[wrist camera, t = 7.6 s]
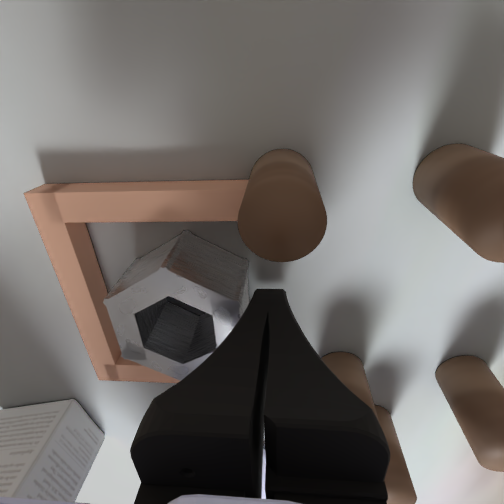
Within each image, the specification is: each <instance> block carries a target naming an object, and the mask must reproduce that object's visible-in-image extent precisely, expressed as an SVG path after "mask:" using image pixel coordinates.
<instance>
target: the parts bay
mask: <svg viewBox="0 0 504 504" xmlns="http://www.w3.org/2000/svg"><path fill="white" fill-rule="evenodd" d="M248 181H249V180H203V181H157V182H111V183H65V184H43V185H41V186H39V187H37V188H34V189H32V190H30V191H28V192H26V193H24V195H25V198H26V200H27V203H28V205H29V208H30V210H31V213H32V215H33V218H34V220H35V223H36V225H37V228H38V230H39V233H40V235H41V238H42V240H43V243H44V245H45V248H46V250H47V253H48V255H49V257H50V260H51V262H52V265H53V267H54V270H55V272H56V275H57V277H58V280H59V282H60V285H61V287H62V290H63V292H64V295H65V297H66V300H67V302H68V305H69V307H70V310H71V312H72V315H73V317H74V320H75V322H76V324H77V327H78V329H79V332H80V334H81V337H82V339H83V342H84V344H85V347H86V349H87V352H88V354H89V357H90V359H91V362H92V364H93V367H94V369H95V372H96V374H97V377H98V379H99V380H110V381H136V382H161V383H178V382H180V380H177V379H175V378H173V377H170V376H168V375H165V374H163V373H160V372H158V371H155V370H153V369H150V368H148V367H145V366H143V365H141V364H138V363H136V362H133V361H131V360H128V359H124V358H123V357H121V355H122V352H121V349H120V346H119V343H118V340H117V337H116V334H115V331H114V328H113V325H112V322H111V319H110V316H109V313H108V310H107V307H106V305H105V304H104V303H103V301H104V298H105V297H106V296H107V294H108V292H107V289H106V286H105V283H104V280H103V277H102V274H101V271H100V267H99V264H98V261H97V258H96V255H95V252H94V249H93V246H92V243H91V240H90V236H89V233H88V230H87V227H86V224H85V222H185V221H238V213H239V209H240V206H241V203H242V200H243V197H244V194H245V191H246V187H247V184H248Z"/></svg>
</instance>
